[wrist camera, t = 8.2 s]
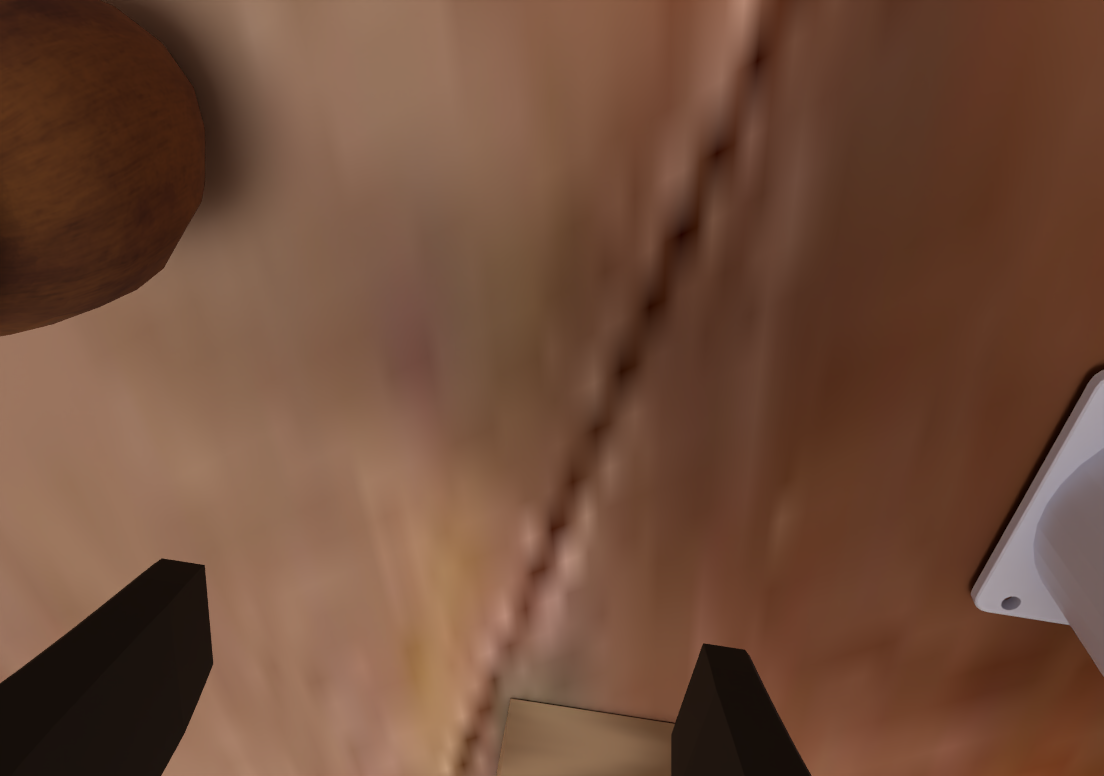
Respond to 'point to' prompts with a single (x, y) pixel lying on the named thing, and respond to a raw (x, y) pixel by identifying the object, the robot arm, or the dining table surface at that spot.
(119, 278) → the wooden figurine
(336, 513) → the dining table surface
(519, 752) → the base block
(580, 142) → the dining table surface
